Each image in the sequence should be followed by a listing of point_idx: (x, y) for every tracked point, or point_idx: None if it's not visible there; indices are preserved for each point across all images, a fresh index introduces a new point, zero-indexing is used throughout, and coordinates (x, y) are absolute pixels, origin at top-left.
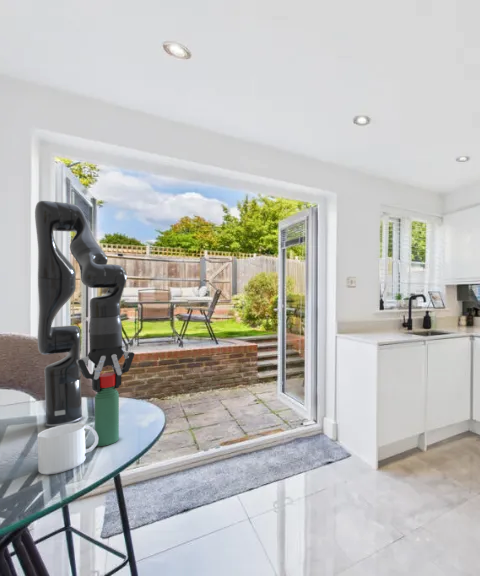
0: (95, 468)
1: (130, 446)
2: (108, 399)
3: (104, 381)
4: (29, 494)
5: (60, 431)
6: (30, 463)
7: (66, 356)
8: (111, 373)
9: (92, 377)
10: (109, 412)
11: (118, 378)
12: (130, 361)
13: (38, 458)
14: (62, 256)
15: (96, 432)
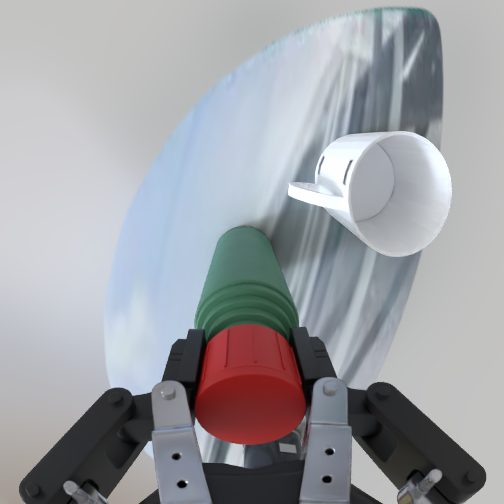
0: (312, 86)
1: (207, 161)
2: (252, 277)
3: (277, 354)
4: (419, 87)
5: (385, 246)
6: (389, 262)
7: None
8: (217, 423)
9: (348, 397)
10: (246, 255)
11: (182, 367)
12: (67, 446)
13: (414, 186)
14: None
15: (299, 188)
